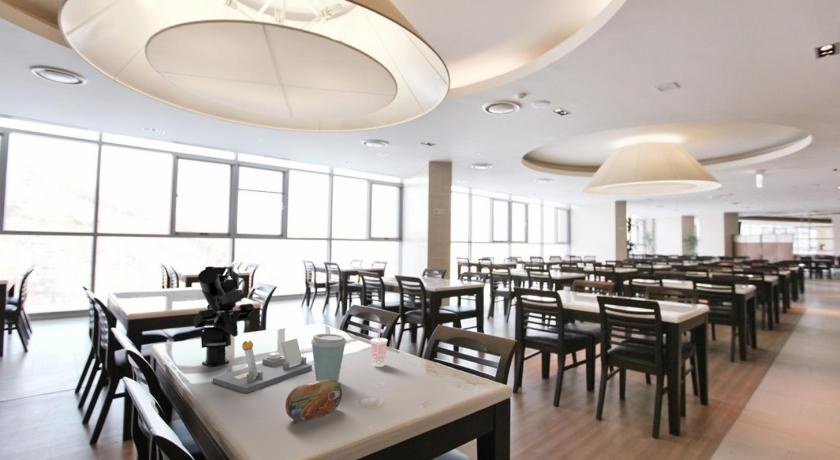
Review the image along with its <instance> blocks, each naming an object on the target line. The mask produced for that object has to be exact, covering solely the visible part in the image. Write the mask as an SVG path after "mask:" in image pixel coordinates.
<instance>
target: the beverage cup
mask: <svg viewBox="0 0 840 460" xmlns="http://www.w3.org/2000/svg"><path fill="white" fill-rule="evenodd" d="M370 343H371V365H372V367H375V368H376V367H377V368H380V367H384V366H385V365H386V356H387V355H386V353H387V343H388V339H387V338H385V337H381V325H378V337H375V338H374V337H373V338H371V339H370Z"/></svg>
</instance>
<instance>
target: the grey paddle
mask: <svg viewBox="0 0 840 460" xmlns="http://www.w3.org/2000/svg"><path fill="white" fill-rule="evenodd" d="M280 344H281V348H282V349H281V350H282V352H283V353H282V354H283V357H284V358H285V362H287V363H289V365H292V364H295V363H298V362H301V361H302V357H303V356H302V354H301V350H300V345H299V341H298V338H293V339H289V340H286V341H282V342H281V343H280Z"/></svg>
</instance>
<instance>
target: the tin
mask: <svg viewBox="0 0 840 460" xmlns="http://www.w3.org/2000/svg"><path fill="white" fill-rule="evenodd" d="M342 396H343V390H342V387H341V385H340V383H339V382H336V381H334V380H330V379H323V380H320V381H316V380H315V381H313V382H310V383H309V382H308V383H306V384H303V385H299V386H297V387H295V388H293V389H292V390H291V391H290V392H289V394H288V395H287V397H286V400H285V407H284V408H285V412H286V415H287V416H288V417H289V418H290V419H291V420H293V421H294V422H296V423H304V422H307V421H311V420H314V419H316V418H319V417H322V416H325V415H328V414H330V413H333V412H334V411H335V410H336V409H337V408H338V407H339V405H340V403H341V400H342Z"/></svg>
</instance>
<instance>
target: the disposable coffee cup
mask: <svg viewBox="0 0 840 460" xmlns="http://www.w3.org/2000/svg"><path fill="white" fill-rule="evenodd" d="M310 343H311V347H312V355H313V365H314V375H315V382H316V381H320V380H323V379H330V380H334V381H336V382H338V381H339V379H340V373H341V368H342V363H343V358H344V351H345V346H346V343H347V339H346V337H344V336H343V335H341V334H336V333H317V334H315V335H313V339H311V342H310ZM338 383H339V382H338Z"/></svg>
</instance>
